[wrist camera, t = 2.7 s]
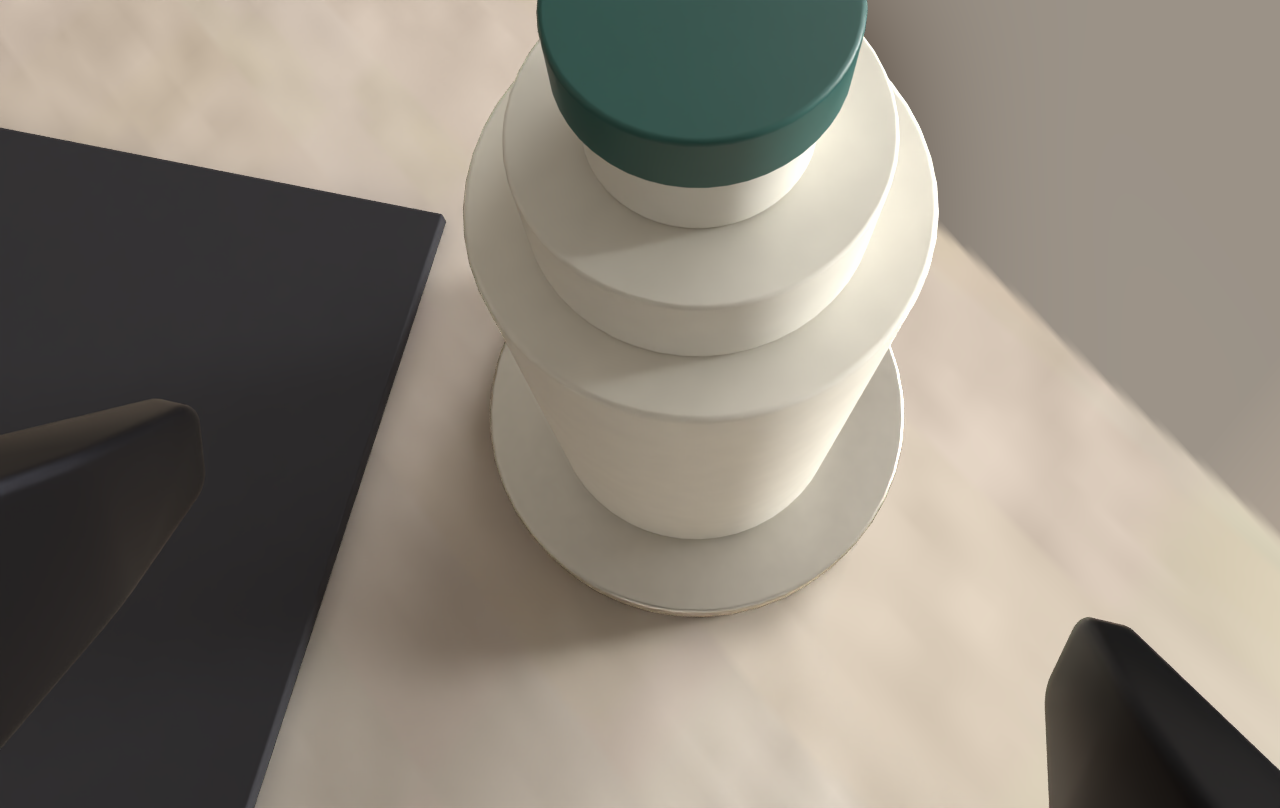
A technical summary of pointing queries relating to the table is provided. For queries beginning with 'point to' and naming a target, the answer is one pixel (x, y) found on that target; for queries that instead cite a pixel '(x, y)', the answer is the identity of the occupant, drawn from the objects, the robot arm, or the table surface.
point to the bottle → (699, 244)
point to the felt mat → (231, 439)
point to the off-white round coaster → (697, 568)
